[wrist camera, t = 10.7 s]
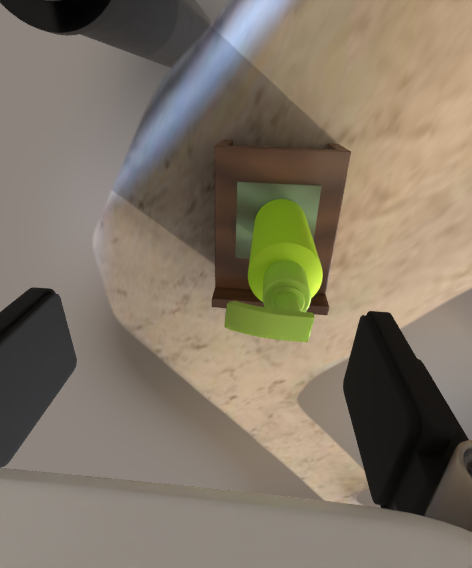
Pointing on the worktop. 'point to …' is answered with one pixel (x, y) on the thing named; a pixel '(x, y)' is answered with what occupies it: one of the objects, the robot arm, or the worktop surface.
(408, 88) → the worktop surface
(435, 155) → the worktop surface
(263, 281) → the soap dispenser
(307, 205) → the wooden picture frame
